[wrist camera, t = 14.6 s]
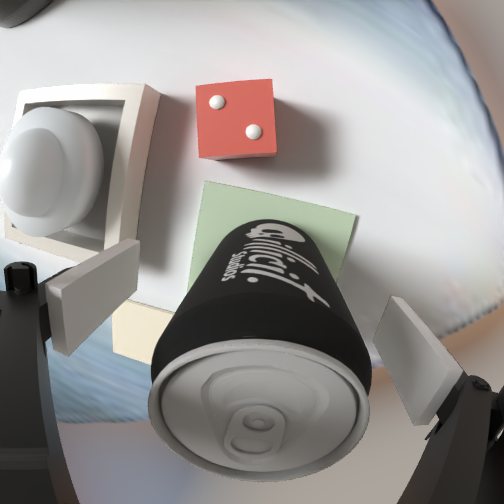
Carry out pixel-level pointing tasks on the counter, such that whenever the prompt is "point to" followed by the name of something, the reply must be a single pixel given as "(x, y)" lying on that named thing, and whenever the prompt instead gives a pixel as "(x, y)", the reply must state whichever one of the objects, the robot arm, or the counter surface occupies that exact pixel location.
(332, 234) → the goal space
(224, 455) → the beverage can
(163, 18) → the counter surface
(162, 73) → the counter surface
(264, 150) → the red die
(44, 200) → the dome
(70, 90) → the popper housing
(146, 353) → the track space
